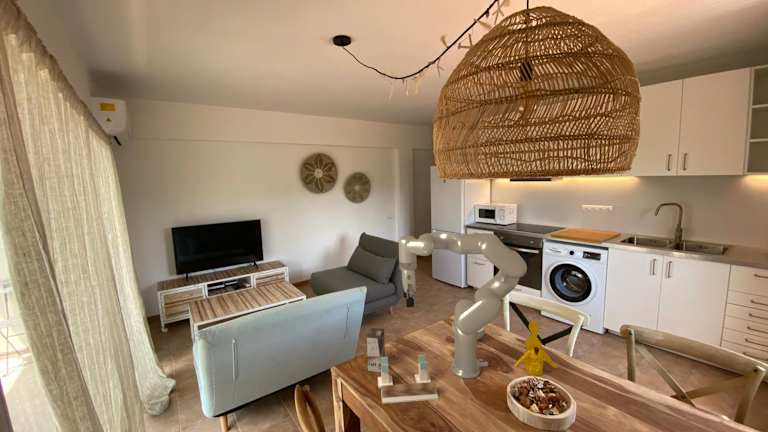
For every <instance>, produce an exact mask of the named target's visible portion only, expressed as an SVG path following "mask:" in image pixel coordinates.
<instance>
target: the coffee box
mask: <svg viewBox="0 0 768 432" xmlns="http://www.w3.org/2000/svg"><path fill="white" fill-rule="evenodd" d="M385 342H386V340H385V328H383V327H382V328H379V327H371V328H370V330H369V332H368V334H367V337H366V346H367V347H366V348H367V349H366V350H367V353H366V354H367V371H368V372H375V373H381V357H386V348H385V347H386V345H385Z"/></svg>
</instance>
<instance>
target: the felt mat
mask: <svg viewBox="0 0 768 432" xmlns="http://www.w3.org/2000/svg"><path fill="white" fill-rule="evenodd" d="M380 394H381V396H380V397H381V404H395V403H406V402H407V403H409V402H420V401H432V400H433V401H434V400H437V401H438V400H440V399H439V398H440V397H439V395H438V393H437V394H430V395H416V396H403V397H389V398H382V388H380Z"/></svg>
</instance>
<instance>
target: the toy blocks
mask: <svg viewBox="0 0 768 432" xmlns="http://www.w3.org/2000/svg"><path fill="white" fill-rule="evenodd" d="M417 362H418V373H417V374H414V379H415V383H427V382H432V380H431V377H430V374H429V373H428V366H429V365H428V361H427V360H426V354H417Z"/></svg>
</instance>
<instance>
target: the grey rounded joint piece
mask: <svg viewBox="0 0 768 432" xmlns="http://www.w3.org/2000/svg"><path fill="white" fill-rule="evenodd" d="M451 329H452V332H453V333H454V334H455V319H454V320H452V322H451ZM485 332H486V326H484V327H483V328H482V329H480V330H479V331H477V340H480V339H482V338H483V336H484V335H485Z"/></svg>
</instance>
